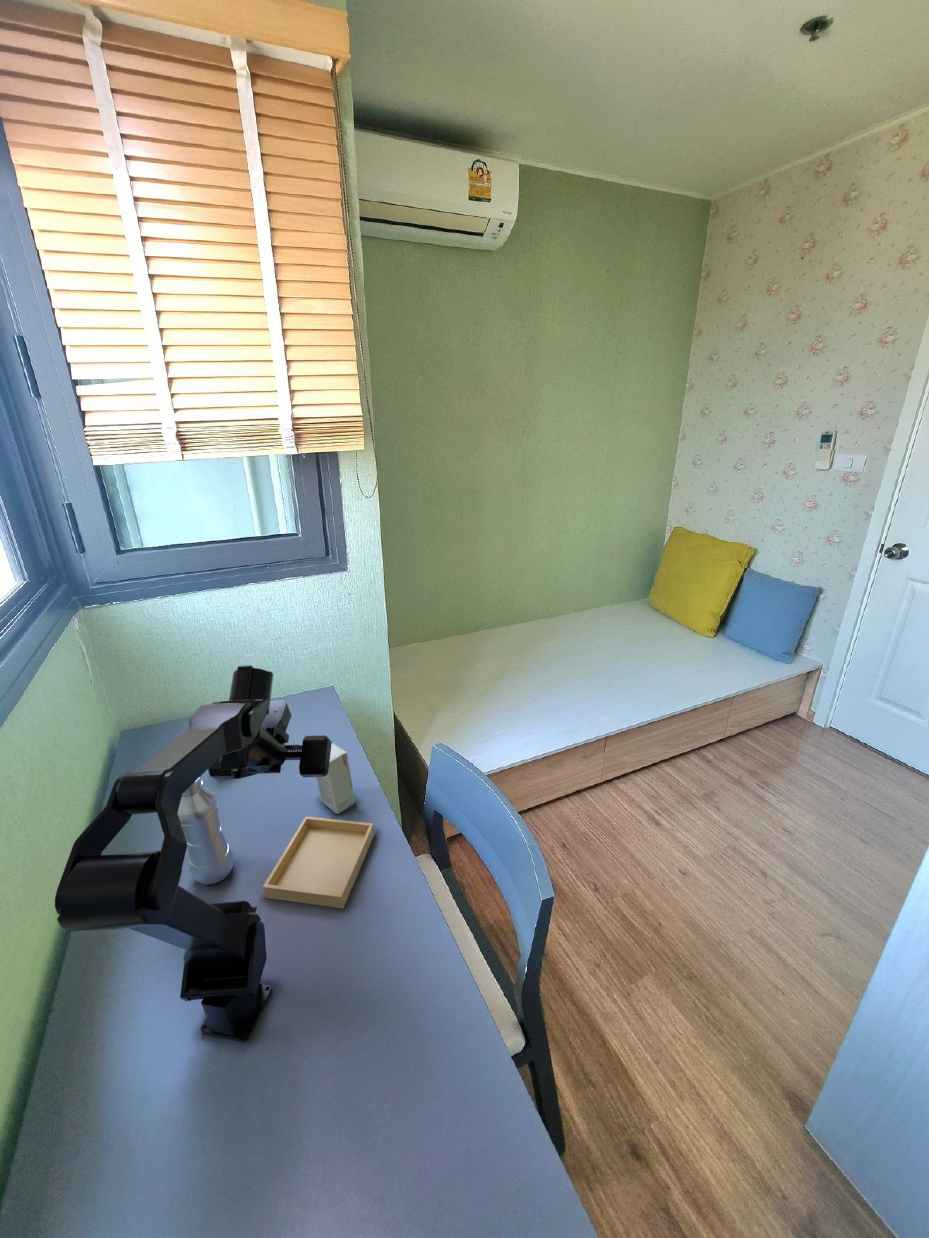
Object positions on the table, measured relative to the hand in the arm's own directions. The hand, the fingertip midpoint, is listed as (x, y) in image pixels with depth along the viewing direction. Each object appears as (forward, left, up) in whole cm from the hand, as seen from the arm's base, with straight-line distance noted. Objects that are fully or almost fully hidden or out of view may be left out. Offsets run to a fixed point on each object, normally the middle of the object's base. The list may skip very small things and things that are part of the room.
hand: (288, 768), depth 90 cm
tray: (-7, -7, -14) cm, 17 cm away
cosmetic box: (+8, -4, -14) cm, 17 cm away
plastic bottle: (-11, +10, -14) cm, 21 cm away
